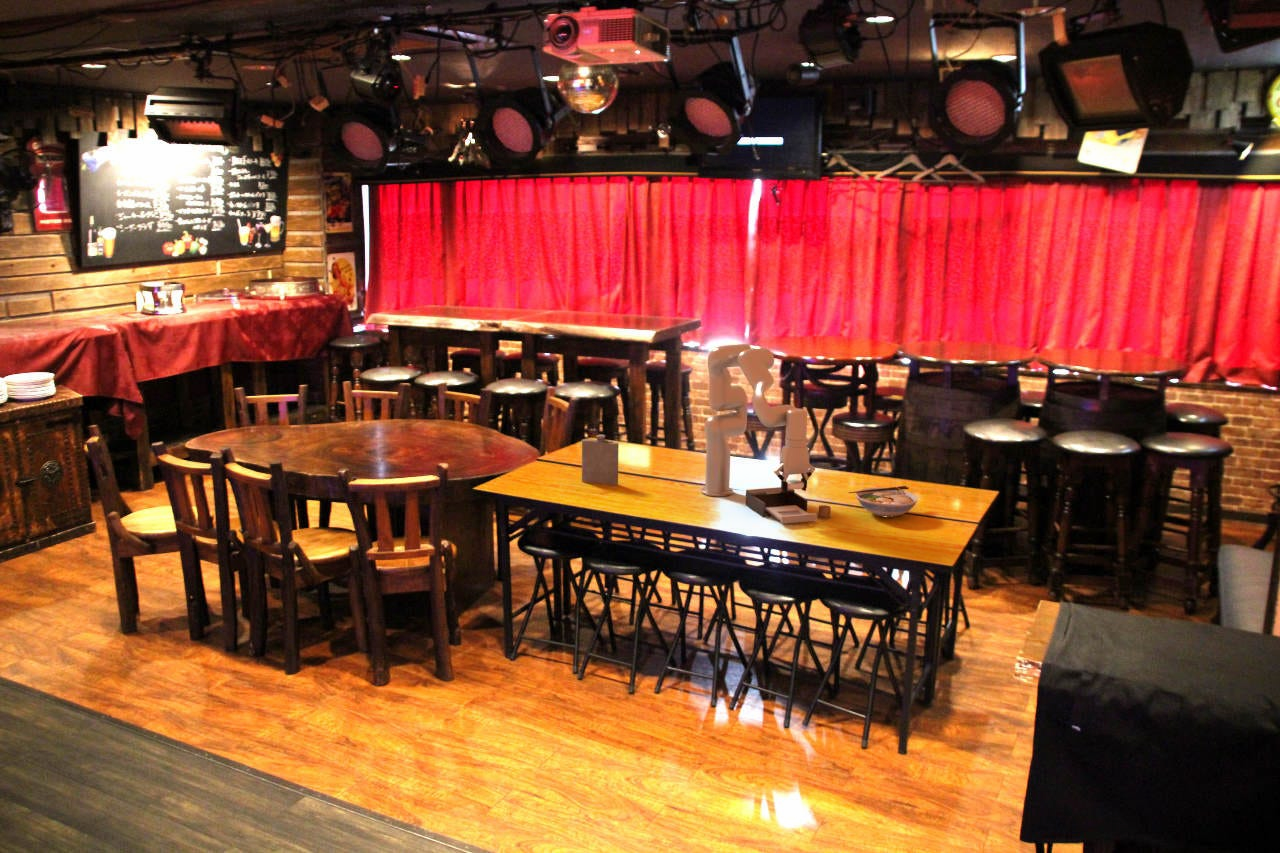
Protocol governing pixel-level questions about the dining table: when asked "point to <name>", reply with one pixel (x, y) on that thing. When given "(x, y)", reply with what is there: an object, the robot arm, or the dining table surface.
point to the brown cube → (824, 512)
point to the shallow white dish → (795, 484)
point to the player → (773, 499)
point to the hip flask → (600, 461)
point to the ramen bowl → (886, 500)
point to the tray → (791, 514)
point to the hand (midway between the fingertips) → (793, 490)
